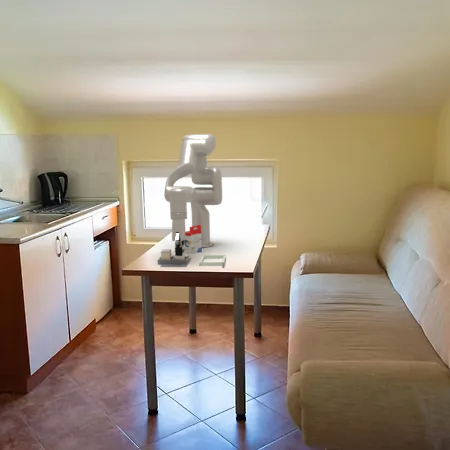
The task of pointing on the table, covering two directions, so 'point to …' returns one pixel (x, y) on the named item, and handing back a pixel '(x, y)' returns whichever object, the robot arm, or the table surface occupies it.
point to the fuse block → (172, 260)
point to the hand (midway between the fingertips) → (180, 253)
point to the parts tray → (213, 262)
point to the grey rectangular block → (182, 254)
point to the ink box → (193, 240)
